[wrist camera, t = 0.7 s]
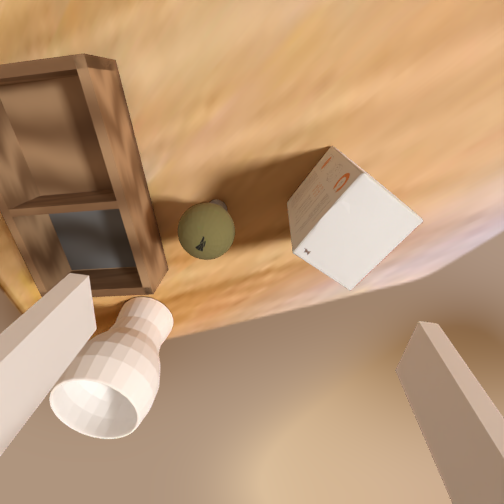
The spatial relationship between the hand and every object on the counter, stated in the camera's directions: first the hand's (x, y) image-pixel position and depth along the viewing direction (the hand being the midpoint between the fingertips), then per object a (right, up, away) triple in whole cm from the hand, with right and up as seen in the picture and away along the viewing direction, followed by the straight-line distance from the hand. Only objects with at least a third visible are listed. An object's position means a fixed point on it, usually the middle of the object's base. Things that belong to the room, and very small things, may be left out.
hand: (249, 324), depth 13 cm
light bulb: (-4, +8, +25) cm, 26 cm away
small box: (+9, +10, +23) cm, 27 cm away
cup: (-15, -7, +33) cm, 37 cm away
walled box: (-19, +11, +24) cm, 33 cm away
